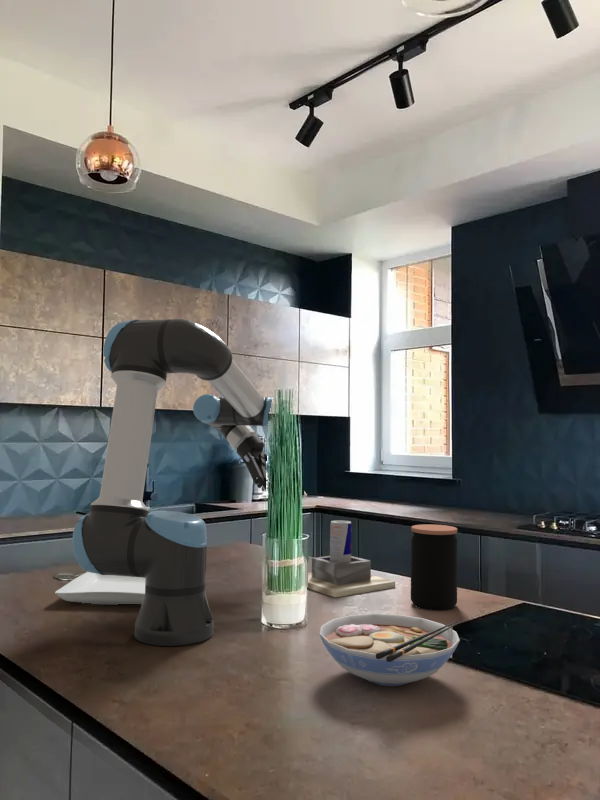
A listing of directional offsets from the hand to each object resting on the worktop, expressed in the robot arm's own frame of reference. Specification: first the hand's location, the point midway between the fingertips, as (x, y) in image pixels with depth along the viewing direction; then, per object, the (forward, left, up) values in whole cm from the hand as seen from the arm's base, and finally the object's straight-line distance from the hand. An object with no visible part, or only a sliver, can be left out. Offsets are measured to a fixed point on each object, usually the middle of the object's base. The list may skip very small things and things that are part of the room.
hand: (293, 500), depth 179 cm
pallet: (-10, -8, -21) cm, 25 cm away
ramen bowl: (-66, +28, -22) cm, 75 cm away
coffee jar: (-38, -13, -22) cm, 46 cm away
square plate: (+10, +42, -22) cm, 48 cm away
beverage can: (-10, -8, -20) cm, 24 cm away
